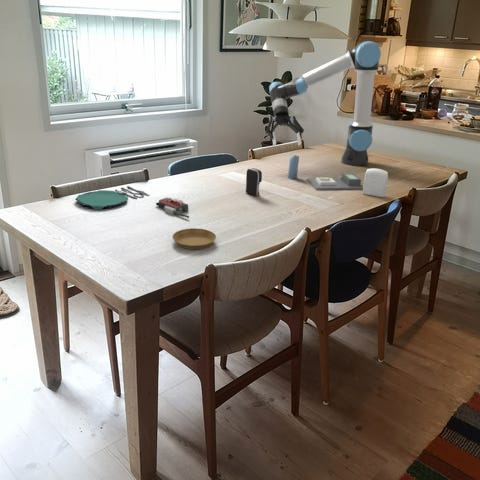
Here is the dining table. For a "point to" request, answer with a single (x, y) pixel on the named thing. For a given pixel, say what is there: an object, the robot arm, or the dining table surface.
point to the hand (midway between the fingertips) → (287, 144)
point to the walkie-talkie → (173, 206)
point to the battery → (253, 181)
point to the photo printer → (375, 182)
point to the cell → (293, 167)
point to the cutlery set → (106, 198)
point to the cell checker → (337, 183)
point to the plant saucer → (194, 238)
